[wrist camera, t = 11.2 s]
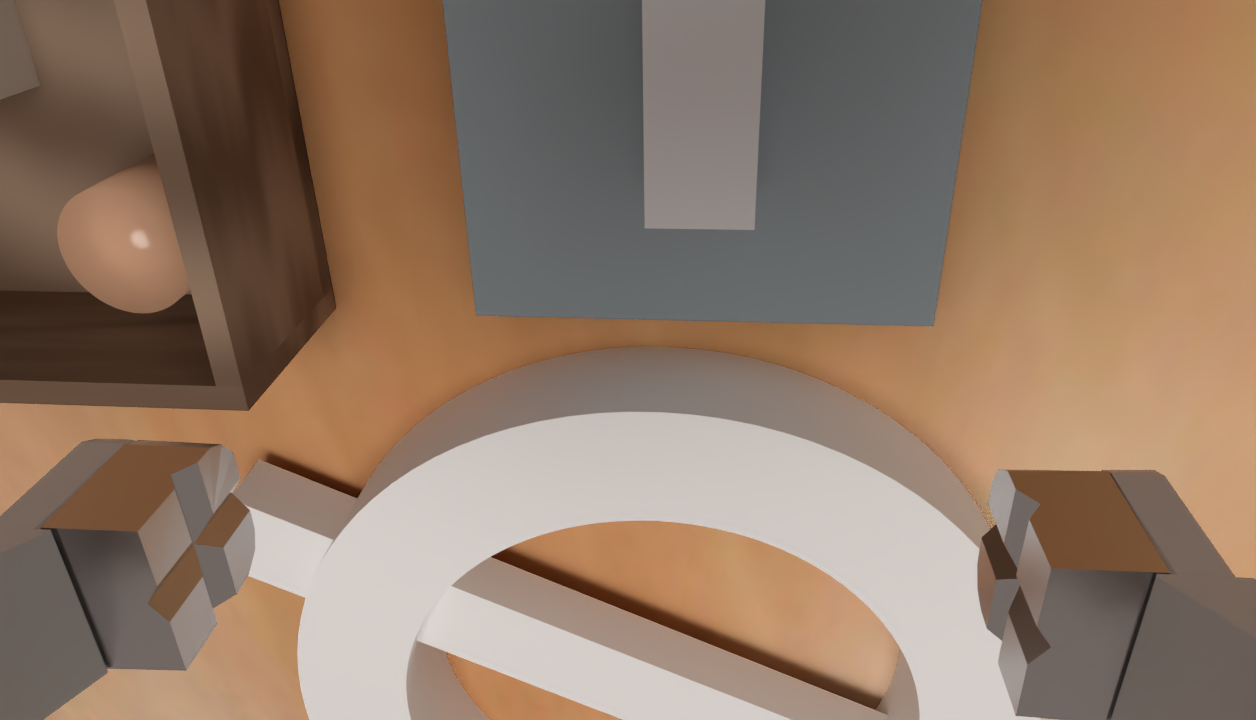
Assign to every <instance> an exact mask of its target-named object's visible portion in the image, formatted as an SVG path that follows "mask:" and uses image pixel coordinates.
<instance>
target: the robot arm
mask: <svg viewBox="0 0 1256 720" xmlns="http://www.w3.org/2000/svg"><path fill="white" fill-rule="evenodd" d="M240 478H241V476H240V473H239V470H238V466H237V463H236V460H235V457H234V454H233V452H232V451H230V450H229V449H227V448H226V447H224V446H223V445H222V444H203V443H184V442H165V441H145V440H138V441H134V440H124V439H93V440H88V441H84V442H81V443H80V444H79V445H78V446H77V447H75V448H74V449H73V450H72V451H71V452H70V453H69V454H68V455H67V456H66V457H65V458H63V459H62V460H61V461H60V462H59V463H58V464H57V465H56V466H55V467H54V468H52V469H51V470H50V471H49V472H48V473H47V474H46V475H45V476H44V477H43V478H42V479H40V480H39V481H38V482H37V483H36V484H35V485H34V486H33V487H32V488H31V489H30V490H28V491H27V492H26V493H25V494H24V495H23V496H22V497H21V498H20V499H19V500H17V501H16V502H15V503H14V504H13V505H12V506H11V507H10V508H9V509H8V510H7V511H5V512H4V513H3V514H2V515H1V516H0V720H43V719H45V718H46V717H47V716H49V715H50V714H52V713H53V712H54V711H56V710H57V709H58V708H60V707H61V706H63V705H64V704H65V703H67V702H68V701H69V700H71V699H72V698H74V697H75V696H76V695H78V694H79V693H81V692H82V691H83V690H85V689H86V688H87V687H89V686H90V685H92V684H93V683H94V682H96V681H97V680H98V679H100V678H101V677H103V676H104V675H105V674H107V672H108V670H107V669H146V670H185V671H186V670H187V669H188V667H189V666H190V664H191V663H192V661H193V660H194V658H195V657H196V655H197V654H198V652H199V651H200V649H201V648H202V646H203V645H204V643H205V641H206V640H207V638H208V637H209V635H210V634H211V632H212V631H213V629H214V628H215V626H216V625H217V621H216V617H215V613H214V609H213V608H214V607H216V606H218V605H219V604H221V603H223V602H224V601H226V600H227V599H229V598H231V597H232V596H234V595H236V594H237V593H238V591H239V589H240V588H241V586H242V585H243V583H244V581H245V580H246V578H247V576H248V575H249V571H250V568H251V564H252V560H253V556H254V552H255V528H254V524H253V520H252V516H251V512H250V510H249V509H248V508H247V507H246V506H245V505H244V504H243V503H242V502H241V501H240V500H239V499H238V498H237V497H236V496H235V495H234V494H233V493H232V492H233V491H234V489H235V487H236V485H237V483H238V482H239V480H240ZM988 504H989V506H990V509H991V511H992V514H993V517H994V519H995V522H996V525H995V526H994V527H993V528H992V529H990V530H989V531H988V532H987V533H986V534H985V535H984V536H983V537H981V543H980V550H979V556H978V563H977V590H978V596H979V602H980V608H981V612H982V615H983V618H984V622H985V625H986V628H987V629H988V630H989V631H990V632H992V633H993V634H994V635H995V636H996V637H998V638H999V639H1000V640H1001V641H1002V644H1001V649H1000V654H999V659H998V665H999V668H1000V671H1001V674H1002V677H1003V680H1004V683H1005V685H1006V688H1007V691H1008V694H1009V697H1010V700H1011V703H1012V706H1013V709H1014V712H1015V715H1016V716H1023V717H1035V718H1048V719H1060V720H1256V580H1255V579H1253V578H1239V577H1235V575H1234V574H1233V573H1232V571H1231V570H1230V568H1229V567H1228V565H1227V564H1226V563H1225V561H1224V560H1223V558H1222V557H1221V556H1220V554H1219V553H1218V551H1217V550H1216V548H1215V547H1214V546H1213V544H1212V543H1211V541H1210V540H1209V538H1208V537H1207V536H1206V534H1205V533H1204V531H1203V530H1202V528H1201V527H1200V526H1199V524H1198V523H1197V521H1196V520H1195V518H1194V517H1193V516H1192V514H1191V513H1190V511H1189V510H1188V508H1187V507H1186V506H1185V504H1184V503H1183V501H1182V500H1181V498H1180V497H1179V496H1178V494H1177V493H1176V491H1175V490H1174V488H1173V487H1172V486H1171V484H1170V483H1169V481H1168V480H1167V478H1166V477H1165V476H1164V475H1162V474H1160V473H1159V472H1157V471H1155V470H1102V471H1060V470H998V471H997V473H996V475H995V478H994V480H993V482H992V486H991V491H990V496H989V501H988Z"/></svg>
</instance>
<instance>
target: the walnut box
mask: <svg viewBox="0 0 1256 720" xmlns="http://www.w3.org/2000/svg"><path fill="white" fill-rule="evenodd" d="M14 3H15V6H16V10H17V13H18V16H19V19H20V22H21V25H22V29H23V32H24V35H25V38H26V41H27V45H28V48H29V51H30V54H31V57H32V61H33V64H34V67H35V70H36V73H37V77H38V80H39V83H40V86H38V87H35V88H32V89H29V90H26V91H24V92H21V93H18V94H15V95H12V96H9V97H6V98H3V99H1V100H0V403H24V404H55V405H86V406H117V407H148V408H179V409H211V410H242V411H249V410H250V408H251V407H252V406H253V405H254V404H255V403H256V401H257V400H258V399H259V398H260V397H261V395H262V394H263V393H264V392H265V391H266V390H267V388H268V387H269V386H270V385H271V384H272V383H273V381H274V380H275V379H276V378H277V377H278V376H279V374H280V373H281V372H282V371H283V370H284V368H285V367H286V366H287V365H288V364H289V363H290V361H291V360H292V359H293V358H294V357H295V356H296V354H297V353H298V352H299V351H300V350H301V348H302V347H303V346H304V345H305V344H306V343H307V341H308V340H309V339H310V338H311V337H312V336H313V334H314V333H315V332H316V331H317V330H318V329H319V327H320V326H321V325H322V324H323V323H324V321H325V320H326V319H327V318H328V317H329V316H330V314H331V313H332V312H333V311H334V310H335V309H336V306H335V301H334V295H333V290H332V285H331V279H330V274H329V269H328V263H327V258H326V253H325V247H324V242H323V237H322V231H321V226H320V221H319V215H318V210H317V205H316V199H315V194H314V189H313V183H312V178H311V173H310V167H309V162H308V157H307V151H306V146H305V141H304V135H303V130H302V125H301V119H300V114H299V109H298V103H297V98H296V93H295V87H294V82H293V77H292V71H291V66H290V61H289V55H288V50H287V45H286V39H285V34H284V29H283V23H282V18H281V13H280V7H279V2H278V0H14ZM153 153H154V154H155V158H156V162H157V166H158V169H159V173H160V177H161V181H162V184H163V188H164V192H165V196H166V200H167V203H168V207H169V211H170V215H171V218H172V222H173V226H174V230H175V233H176V237H177V241H178V245H179V248H180V252H181V256H182V260H183V263H184V267H185V271H186V275H187V279H188V282H189V286H190V291H189V292H188V293H186V294H185V295H184V296H183V297H181V298H180V299H179V300H178V301H177V302H175V303H174V304H173V305H171V306H170V307H168V308H166V309H164V310H161V311H158V312H153V313H132V312H128V311H123V310H120V309H117V308H115V307H112V306H110V305H108V304H106V303H104V302H102V301H101V300H99V299H98V298H96V297H95V296H93V295H92V294H91V293H90V292H88V291H87V290H86V289H85V288H84V287H83V286H82V285H81V284H80V283H79V282H78V281H77V280H76V278H75V277H74V276H73V275H72V273H71V272H70V270H69V269H68V267H67V265H66V263H65V261H64V259H63V257H62V254H61V252H60V248H59V244H58V238H57V226H58V220H59V217H60V214H61V212H62V210H63V208H64V206H65V205H66V204H67V203H68V201H69V200H70V199H72V198H73V197H74V196H75V195H77V194H79V193H81V192H82V191H84V190H86V189H88V188H90V187H92V186H94V185H95V184H97V183H99V182H101V181H103V180H105V179H107V178H109V177H110V176H112V175H114V174H116V173H118V172H120V171H122V170H124V169H125V168H127V167H129V166H131V165H133V164H135V163H137V162H138V161H140V160H142V159H144V158H146V157H148V156H150V155H152V154H153Z"/></svg>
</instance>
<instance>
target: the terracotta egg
mask: <svg viewBox="0 0 1256 720" xmlns="http://www.w3.org/2000/svg"><path fill="white" fill-rule="evenodd" d="M57 238H58V244H59V248H60V252H61V254H62V257H63V259H64V261H65V263H66V265H67V267H68V269H69V270H70V272H71V273H72V275H73V276H74V277H75V278H76V280H77V281H78V282H79V283H80V284H81V285H82V286H83V287H84V288H85V289H86V290H87V291H88V292H90V293H91V294H92V295H93V296H95V297H96V298H98V299H99V300H101V301H102V302H104V303H106V304H108V305H110V306H112V307H115V308H117V309H120V310H123V311H128V312H132V313H153V312H158V311H161V310H164V309H166V308H168V307H170V306H171V305H173V304H174V303H175V302H177V301H178V300H179V299H180V298H181V297H183V296H184V295H185V294H186V293H188V292H189V291H190V286H189V282H188V279H187V275H186V271H185V267H184V263H183V260H182V256H181V252H180V248H179V245H178V241H177V237H176V233H175V230H174V226H173V222H172V218H171V215H170V211H169V207H168V203H167V200H166V196H165V192H164V188H163V184H162V181H161V177H160V173H159V169H158V166H157V162H156V158H155V154H154V153H153V154H152V155H150V156H148V157H146V158H144V159H142V160H140V161H138V162H137V163H135V164H133V165H131V166H129V167H127V168H125V169H124V170H122V171H120V172H118V173H116V174H114V175H112V176H110V177H109V178H107V179H105V180H103V181H101V182H99V183H97V184H95V185H94V186H92V187H90V188H88V189H86V190H84V191H82V192H81V193H79V194H77V195H75V196H74V197H73V198H72V199H70V200H69V201H68V203H67V204H66V205H65V206H64V208H63V210H62V212H61V214H60V217H59V220H58V226H57Z"/></svg>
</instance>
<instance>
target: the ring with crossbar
mask: <svg viewBox="0 0 1256 720" xmlns="http://www.w3.org/2000/svg"><path fill="white" fill-rule="evenodd" d="M233 494H234V495H235V496H236V497H237V498H238V499H239V500H240V501H241V502H242V503H243V504H244V505H245V506H246V507H247V508H248V509H249V510H250V512H251V516H252V520H253V524H254V528H255V552H254V556H253V560H252V564H251V568H250V571H249V575H248V576H250V577H252V578H255V579H258V580H260V581H263V582H265V583H268V584H271V585H273V586H276V587H278V588H281V589H284V590H286V591H289V592H292V593H294V594H297V595H299V596H302V597H305V598H306V599H305V603H304V607H303V611H302V615H301V620H300V627H299V634H298V653H297V654H298V672H299V679H300V686H301V692H302V696H303V700H304V704H305V708H306V711H307V714H308V717H309V720H490V719H489V718H488V717H487V716H486V715H485V714H484V713H483V712H482V711H481V710H480V709H479V708H478V707H477V706H476V704H475V703H474V702H473V701H472V699H471V698H470V697H469V696H468V694H467V693H466V691H465V690H464V689H463V687H462V686H461V684H460V682H459V681H458V679H457V677H456V676H455V674H454V672H453V670H452V668H451V666H450V664H449V661H448V659H447V656H446V654H445V652H448V653H451V654H453V655H456V656H458V657H461V658H464V659H466V660H469V661H471V662H474V663H477V664H479V665H482V666H485V667H487V668H490V669H492V670H495V671H498V672H500V673H503V674H505V675H508V676H511V677H513V678H516V679H518V680H521V681H524V682H526V683H529V684H531V685H534V686H537V687H539V688H542V689H544V690H547V691H550V692H552V693H555V694H558V695H560V696H563V697H565V698H568V699H571V700H573V701H576V702H578V703H581V704H584V705H586V706H589V707H591V708H594V709H597V710H599V711H602V712H604V713H607V714H610V715H612V716H615V717H618V718H620V719H623V720H1041V718H1035V717H1023V716H1016V715H1015V712H1014V709H1013V706H1012V703H1011V700H1010V697H1009V694H1008V691H1007V688H1006V685H1005V683H1004V680H1003V677H1002V674H1001V671H1000V668H999V665H998V659H999V654H1000V649H1001V644H1002V641H1001V640H1000V639H999V638H998V637H996V636H995V635H994V634H993V633H992V632H990V631H989V630H988V629H987V628H986V625H985V622H984V618H983V615H982V612H981V608H980V602H979V596H978V590H977V563H978V556H979V550H980V543H981V537H983V536H984V535H985V534H986V533H987V532H988V531H989V530H990V528H989V526H988V524H987V522H986V520H985V519H984V517H983V515H982V513H981V511H980V510H979V508H978V506H977V505H976V503H975V502H974V500H973V499H972V497H971V496H970V494H969V493H968V491H967V490H966V488H965V487H964V486H963V485H962V483H961V482H960V481H959V480H958V478H957V477H956V476H955V475H954V474H953V472H952V471H951V470H950V469H949V468H948V467H947V466H946V465H945V464H944V463H943V461H942V460H941V459H940V458H939V457H938V456H937V455H936V454H935V453H934V452H933V451H932V450H930V449H929V448H928V447H927V446H926V445H925V444H924V443H923V442H922V441H920V440H919V439H918V438H917V437H916V436H915V435H913V434H912V433H911V432H909V431H908V430H907V429H905V428H904V427H903V426H902V425H900V424H899V423H898V422H896V421H895V420H893V419H892V418H890V417H889V416H887V415H886V414H884V413H883V412H881V411H880V410H878V409H877V408H875V407H873V406H871V405H870V404H868V403H866V402H864V401H863V400H861V399H859V398H857V397H856V396H854V395H852V394H850V393H848V392H846V391H844V390H841V389H839V388H837V387H835V386H833V385H831V384H829V383H826V382H824V381H821V380H819V379H817V378H814V377H812V376H809V375H807V374H804V373H801V372H798V371H795V370H792V369H789V368H786V367H783V366H780V365H776V364H773V363H769V362H765V361H761V360H757V359H753V358H749V357H744V356H739V355H734V354H729V353H723V352H716V351H708V350H701V349H690V348H676V347H627V348H611V349H603V350H594V351H586V352H581V353H575V354H570V355H564V356H559V357H555V358H552V359H548V360H544V361H540V362H536V363H533V364H529V365H526V366H523V367H520V368H517V369H514V370H511V371H509V372H506V373H504V374H501V375H499V376H496V377H494V378H491V379H489V380H487V381H485V382H483V383H481V384H479V385H477V386H474V387H472V388H470V389H468V390H466V391H465V392H463V393H461V394H460V395H458V396H456V397H454V398H453V399H451V400H449V401H448V402H446V403H445V404H443V405H442V406H440V407H439V408H437V409H436V410H435V411H433V412H432V413H430V414H429V415H428V416H426V417H425V418H424V419H423V420H421V421H420V422H419V423H418V424H417V425H415V426H414V427H413V428H412V429H411V430H410V431H409V432H408V433H407V434H405V435H404V436H403V437H402V438H401V439H400V440H399V441H398V442H397V443H396V444H395V446H394V447H393V448H392V449H391V450H390V451H389V452H388V454H387V455H386V456H385V457H384V458H383V460H382V461H381V462H380V464H379V465H378V466H377V468H376V469H375V470H374V472H373V473H372V475H371V476H370V478H369V480H368V481H367V483H366V485H365V486H364V488H363V490H362V491H361V493H360V495H359V497H358V498H355V497H352V496H350V495H347V494H345V493H342V492H340V491H337V490H335V489H332V488H330V487H327V486H325V485H322V484H320V483H317V482H315V481H312V480H310V479H307V478H305V477H302V476H300V475H297V474H295V473H292V472H290V471H287V470H285V469H282V468H280V467H277V466H274V465H272V464H269V463H267V462H264V461H262V460H258V462H257V463H256V464H255V465H254V467H253V468H252V469H251V471H250V472H249V473H248V475H247V476H246V477H245V478H244V480H243V481H242V482H241V484H240V485H239V486H238V488H237V489H236V490H235V492H234V493H233ZM637 520H641V521H665V522H677V523H685V524H693V525H700V526H705V527H710V528H715V529H720V530H724V531H728V532H732V533H736V534H740V535H743V536H746V537H749V538H752V539H756V540H759V541H761V542H764V543H767V544H769V545H772V546H775V547H777V548H779V549H782V550H784V551H786V552H788V553H791V554H793V555H795V556H797V557H799V558H801V559H803V560H805V561H806V562H808V563H810V564H812V565H814V566H815V567H817V568H819V569H820V570H822V571H824V572H825V573H827V574H828V575H830V576H831V577H833V578H834V579H836V580H837V581H838V582H840V583H841V584H843V585H844V586H845V587H846V588H848V589H849V590H850V591H851V592H853V593H854V594H855V595H856V596H857V597H858V598H860V599H861V600H862V601H863V602H864V603H865V604H866V605H867V606H868V607H869V608H870V609H871V610H872V611H873V612H874V613H875V614H876V616H877V617H878V618H879V619H880V620H881V621H882V623H883V624H884V625H885V626H886V628H887V629H888V630H889V632H890V633H891V634H892V636H893V637H894V639H895V641H896V642H897V644H898V645H899V647H900V651H899V656H898V662H897V665H896V669H895V672H894V675H893V678H892V680H891V683H890V685H889V687H888V689H887V691H886V693H885V695H884V697H883V699H882V700H881V702H880V704H879V705H878V707H877V708H876V709H875V710H874V709H871V708H869V707H866V706H864V705H861V704H859V703H856V702H854V701H851V700H849V699H846V698H844V697H841V696H839V695H836V694H834V693H831V692H829V691H826V690H823V689H821V688H818V687H816V686H813V685H811V684H808V683H806V682H803V681H801V680H798V679H796V678H793V677H791V676H788V675H786V674H783V673H781V672H778V671H776V670H773V669H771V668H768V667H766V666H763V665H761V664H758V663H756V662H753V661H751V660H748V659H746V658H743V657H741V656H738V655H736V654H733V653H731V652H728V651H726V650H723V649H721V648H718V647H715V646H713V645H710V644H708V643H705V642H703V641H700V640H698V639H695V638H693V637H690V636H688V635H685V634H683V633H680V632H678V631H675V630H673V629H670V628H668V627H665V626H663V625H660V624H658V623H655V622H653V621H650V620H648V619H645V618H643V617H640V616H638V615H635V614H633V613H630V612H628V611H625V610H623V609H620V608H618V607H615V606H613V605H610V604H607V603H605V602H602V601H600V600H597V599H595V598H592V597H590V596H587V595H585V594H582V593H580V592H577V591H575V590H572V589H570V588H567V587H565V586H562V585H560V584H557V583H555V582H552V581H550V580H547V579H545V578H542V577H540V576H537V575H535V574H532V573H530V572H527V571H525V570H522V569H520V568H517V567H515V566H512V565H510V564H507V563H505V562H502V561H500V560H497V559H494V558H492V557H491V556H493V555H494V554H496V553H498V552H500V551H502V550H504V549H506V548H508V547H511V546H513V545H515V544H518V543H520V542H523V541H525V540H528V539H531V538H534V537H536V536H539V535H542V534H546V533H550V532H553V531H557V530H561V529H565V528H570V527H575V526H580V525H587V524H594V523H602V522H613V521H637Z"/></svg>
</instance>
